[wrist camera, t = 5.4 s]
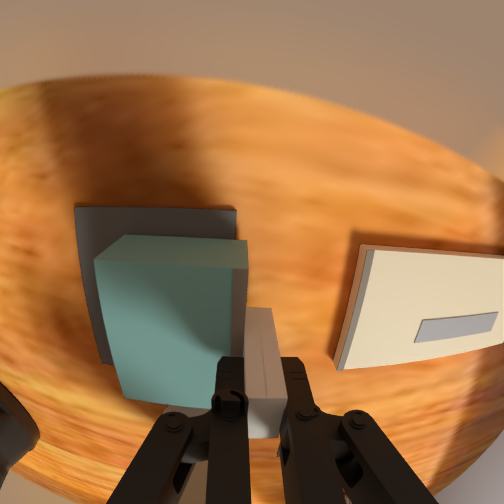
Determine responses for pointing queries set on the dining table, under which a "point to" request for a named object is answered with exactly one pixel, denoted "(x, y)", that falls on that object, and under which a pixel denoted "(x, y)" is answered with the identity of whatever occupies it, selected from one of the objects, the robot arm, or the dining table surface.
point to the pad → (137, 223)
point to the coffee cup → (196, 486)
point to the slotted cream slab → (420, 306)
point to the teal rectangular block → (172, 313)
